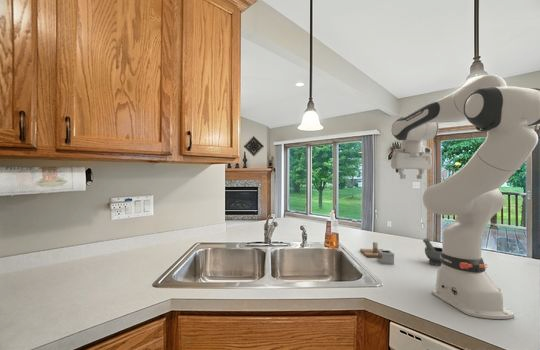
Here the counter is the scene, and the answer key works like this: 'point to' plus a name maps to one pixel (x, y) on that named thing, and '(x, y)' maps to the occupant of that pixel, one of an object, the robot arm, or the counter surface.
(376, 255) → the post block
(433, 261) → the mortar and pestle
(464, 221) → the robot arm
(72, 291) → the counter surface
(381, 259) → the square sleeve
